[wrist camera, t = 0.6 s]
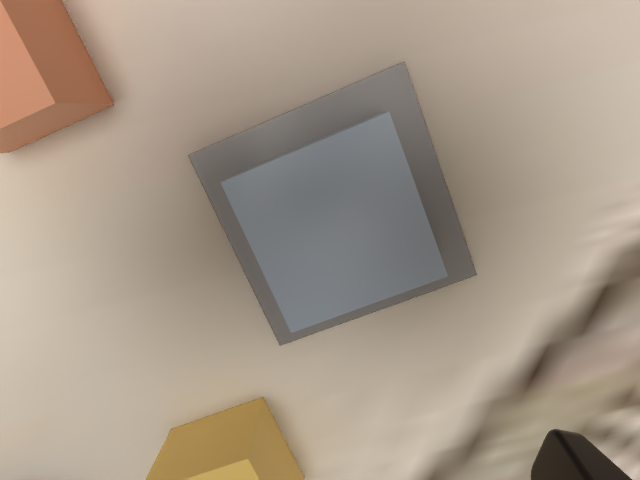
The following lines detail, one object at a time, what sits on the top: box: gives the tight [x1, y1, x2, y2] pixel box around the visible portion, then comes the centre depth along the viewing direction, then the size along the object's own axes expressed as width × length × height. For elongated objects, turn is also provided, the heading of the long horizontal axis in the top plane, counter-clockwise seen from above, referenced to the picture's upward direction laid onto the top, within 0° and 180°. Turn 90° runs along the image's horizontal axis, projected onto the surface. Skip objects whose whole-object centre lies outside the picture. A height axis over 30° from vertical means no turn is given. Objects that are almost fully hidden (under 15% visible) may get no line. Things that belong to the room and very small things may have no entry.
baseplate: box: [188, 62, 477, 346], centre depth 20 cm, size 10×10×3 cm
